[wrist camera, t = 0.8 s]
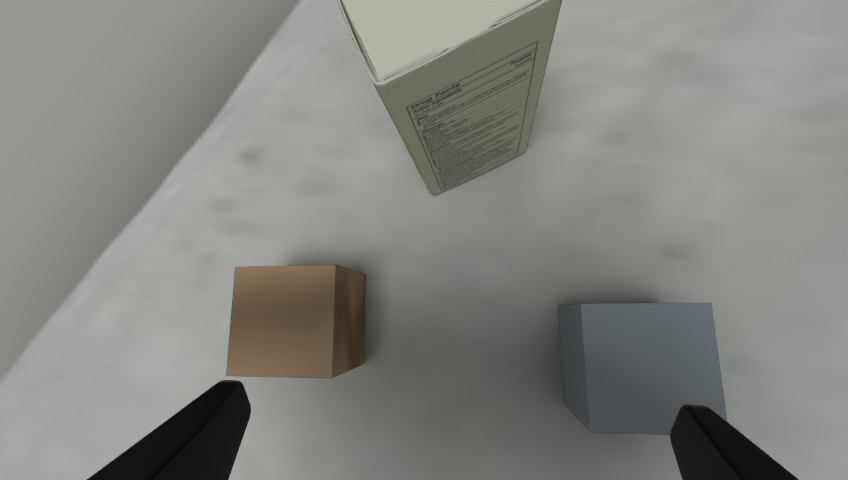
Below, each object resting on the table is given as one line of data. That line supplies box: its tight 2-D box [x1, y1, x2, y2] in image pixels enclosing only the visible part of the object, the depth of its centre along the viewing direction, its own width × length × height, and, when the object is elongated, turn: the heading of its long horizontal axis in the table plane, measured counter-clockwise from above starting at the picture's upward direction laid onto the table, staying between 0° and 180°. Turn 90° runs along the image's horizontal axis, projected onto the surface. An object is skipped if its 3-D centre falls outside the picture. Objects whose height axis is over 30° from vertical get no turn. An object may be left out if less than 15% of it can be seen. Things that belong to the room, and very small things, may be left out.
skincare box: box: [337, 0, 562, 195], centre depth 18 cm, size 6×4×12 cm
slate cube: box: [558, 303, 727, 435], centre depth 18 cm, size 5×5×5 cm
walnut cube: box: [226, 265, 365, 378], centre depth 21 cm, size 5×5×5 cm
